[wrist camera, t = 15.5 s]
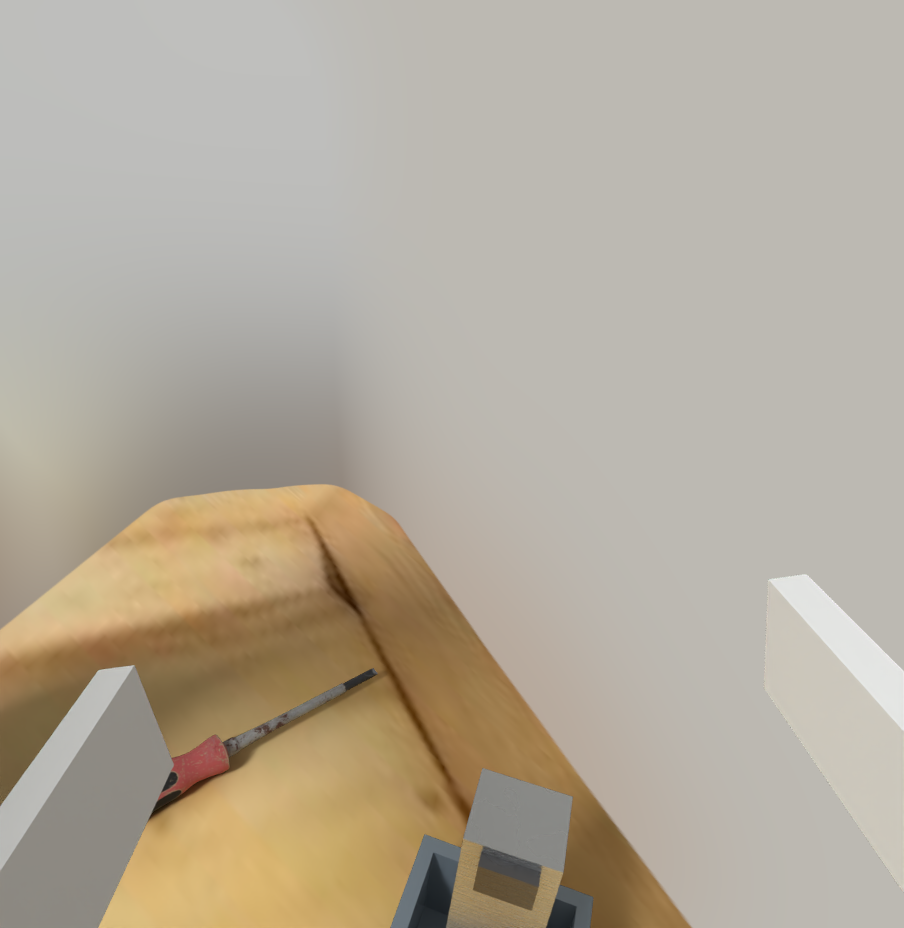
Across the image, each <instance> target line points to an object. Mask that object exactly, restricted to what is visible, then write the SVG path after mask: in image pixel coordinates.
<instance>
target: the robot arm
mask: <svg viewBox="0 0 904 928" xmlns="http://www.w3.org/2000/svg"><path fill="white" fill-rule="evenodd" d="M767 600H768V601H767V624H766V648H765V672H764V689H765V690H766V692H767V693H768V695H769V696H770V697H771V699H772V701H773V702H774V704H775V705H776V706H777V708H778V709H779V711H780V712H781V714H782V715H783V717H784V718H785V720H786V721H787V723H788V724H789V726H790V727H791V728H792V730H793V731H794V733H795V734H796V736H797V737H798V739H799V740H800V742H801V743H802V745H803V746H804V748H805V749H806V750H807V752H808V753H809V755H810V756H811V757H812V759H813V761H814V762H815V764H816V765H817V767H818V768H819V770H820V771H821V773H822V774H823V775H824V777H825V778H826V780H827V781H828V783H829V784H830V786H831V787H832V789H833V790H834V792H835V793H836V794H837V796H838V797H839V799H840V800H841V802H842V803H843V805H844V806H845V808H846V809H847V811H848V812H849V813H850V815H851V816H852V818H853V819H854V821H855V822H856V824H857V825H858V826H859V828H860V830H861V831H862V833H863V834H864V836H865V837H866V838H867V840H868V841H869V843H870V844H871V846H872V847H873V849H874V850H875V852H876V853H877V855H878V856H879V858H880V859H881V861H882V862H883V864H884V865H885V866H886V868H887V869H888V871H889V872H890V874H891V875H892V877H893V878H894V880H895V881H896V883H897V884H898V885H899V887H900V888H901V890H902V891H903V893H904V671H903V670H902V669H901V668H900V667H899V666H898V665H897V664H896V663H895V662H894V661H893V660H892V659H891V658H890V657H889V656H888V655H887V654H886V653H885V652H884V651H883V650H882V649H881V648H880V647H879V646H878V645H877V644H876V643H875V642H874V641H873V640H872V639H871V638H870V637H869V636H868V635H867V634H866V633H865V632H864V631H863V630H862V629H861V628H860V627H859V626H858V625H857V624H856V623H855V622H854V621H853V620H852V619H851V618H850V617H849V616H848V615H847V614H846V613H845V612H844V611H843V610H842V609H841V608H840V607H839V606H838V605H837V604H836V603H835V602H834V601H833V600H832V599H831V598H830V597H829V596H828V595H827V594H826V593H825V592H823V590H822V589H821V588H820V587H819V586H818V585H817V584H816V583H815V582H814V581H813V580H811V578H810V577H808V575H806V574H805V575H798V576H790V577H783V578H776V579H768V599H767ZM173 766H174V764H173V761H172V759H171V756H170V754H169V751H168V748H167V746H166V743H165V741H164V738H163V736H162V733H161V731H160V728H159V726H158V723H157V721H156V718H155V716H154V713H153V711H152V708H151V706H150V703H149V701H148V698H147V696H146V693H145V691H144V688H143V685H142V683H141V680H140V678H139V675H138V673H137V670H136V668H135V665H132V666H125V667H117V668H110V669H102V670H98V671H97V673H96V674H95V676H94V677H93V678H92V680H91V681H90V683H89V684H88V685H87V687H86V688H85V689H84V691H83V692H82V694H81V695H80V696H79V698H78V699H77V701H76V702H75V703H74V705H73V706H72V707H71V709H70V710H69V712H68V713H67V714H66V716H65V717H64V719H63V720H62V721H61V723H60V724H59V726H58V727H57V728H56V730H55V731H54V732H53V734H52V735H51V737H50V738H49V739H48V741H47V742H46V744H45V745H44V746H43V748H42V749H41V750H40V752H39V753H38V755H37V756H36V757H35V759H34V760H33V762H32V763H31V764H30V766H29V767H28V768H27V770H26V771H25V773H24V774H23V775H22V777H21V778H20V780H19V781H18V782H17V784H16V785H15V786H14V788H13V789H12V791H11V792H10V793H9V795H8V796H7V798H6V799H5V800H4V802H3V803H2V804H1V806H0V928H98V927H99V925H100V922H101V920H102V918H103V916H104V914H105V912H106V910H107V907H108V905H109V903H110V901H111V899H112V897H113V895H114V892H115V890H116V888H117V886H118V884H119V882H120V880H121V877H122V875H123V873H124V871H125V869H126V867H127V864H128V862H129V860H130V858H131V856H132V854H133V852H134V849H135V847H136V845H137V843H138V841H139V839H140V837H141V834H142V832H143V830H144V828H145V826H146V824H147V822H148V819H149V817H150V815H151V813H152V811H153V809H154V806H155V804H156V802H157V800H158V798H159V796H160V794H161V791H162V789H163V787H164V785H165V783H166V781H167V779H168V776H169V774H170V772H171V770H172V768H173Z"/></svg>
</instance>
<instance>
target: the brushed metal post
mask: <svg viewBox="0 0 904 928" xmlns="http://www.w3.org/2000/svg"><path fill="white" fill-rule="evenodd" d="M572 799H573V797H572V796H569V795H566V794H563V793H559V792H556V791H553V790H550V789H547V788H544V787H541V786H537V785H534V784H531V783H528V782H525V781H522V780H518V779H515V778H512V777H509V776H506V775H503V774H499V773H496V772H493V771H490V770H487V769H484V768H482V772H481V776H480V779H479V783H478V787H477V790H476V794H475V798H474V801H473V805H472V808H471V812H470V816H469V819H468V823H467V827H466V830H465V834H464V838H463V842H462V848H461V853H460V858H459V863H458V868H457V873H456V879H455V884H454V889H453V894H452V899H451V904H450V910H449V915H448V920H447V925H446V928H546V926H547V923H548V920H549V917H550V913H551V910H552V907H553V904H554V901H555V898H556V895H557V891H558V888H559V885H560V882H561V879H562V876H563V872H564V864H565V856H566V848H567V840H568V831H569V823H570V815H571V807H572Z"/></svg>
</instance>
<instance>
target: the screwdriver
mask: <svg viewBox="0 0 904 928" xmlns="http://www.w3.org/2000/svg"><path fill="white" fill-rule="evenodd" d="M377 674H378V673H377V672H376V671H375V670H374V668H373V669H370V670H368V671H366V672H364V673H362V674H361V675H359V676H357V677H355V678H353V679H351V680H349V681H347V682H345V683H343V684H340V685H338V686H336V687H334V688H332V689H330V690H328V691H326V692H324V693H322V694H320V695H319V696H317V697H315V698H313V699H311V700H309V701H307V702H305V703H303V704H301V705H299V706H297V707H295V708H293V709H292V710H290V711H288V712H286V713H284V714H282V715H280V716H278V717H276V718H274V719H272V720H270V721H268V722H266V723H264V724H262V725H260V726H258V727H256V728H254V729H252V730H249V731H247V732H245V733H243V734H241V735H239V736H237V737H235V738H230V739H228V740H226V741H224V742H222V741H221V740H220V738H219V737H218V736H217V735H213V736H212V737H210V738H208V739H207V740H205V741H204V742H203V743H202V744H200V745H199V746H198V747H196V748H195V749H193V750H192V751H190V752H189V753H186V754H184V755H181V756H178V757H174V758H171V759H172V761H173V764H174V766H173V768H172V770H171V772H170V774H169V776H168V779H167V781H166V783H165V785H164V787H163V789H162V791H161V794H160V796H159V798H158V800H157V802H156V804H155V806H154V809H153V811H152V812H154V811H155V810H157V809H158V808H160V807H162V806H163V805H165V804H167V803H169V802H170V801H172V800H174V799H175V798H177V797H178V796H180V795H181V794H182V793H184V792H185V791H186V790H187V789H188V788H190V787H191V786H192V785H194V784H195V783H197V782H198V781H200V780H203V779H205V778H207V777H210V776H214V775H217V774H220V773H223V772H225V771H226V770H228V769H229V767H230V765H229V757H231V756H233V755H234V754H236V753H238V752H239V750H241V749H243V748H244V747H246V746H248V745H249V744H251V743H253V742H255V741H256V740H258V739H260V738H262V737H263V736H265V735H267V734H269V733H270V732H272V731H274V730H276V729H277V728H279V727H281V726H283V725H285V724H287V723H289V722H291V721H292V720H294V719H296V718H298V717H300V716H302V715H304V714H306V713H307V712H309V711H311V710H313V709H315V708H317V707H319V706H321V705H322V704H324V703H326V702H328V701H330V700H332V699H334V698H336V697H337V696H339V695H341V694H343V693H345V692H346V691H347V690H349V689H351V688H353V687H355V686H356V685H358V684H360V683H362V682H364V681H366V680H368V679H370V678H372V677H373V676H375V675H377Z"/></svg>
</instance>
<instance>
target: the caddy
mask: <svg viewBox="0 0 904 928" xmlns="http://www.w3.org/2000/svg"><path fill="white" fill-rule="evenodd" d="M460 853H461V848H460V847H457V846H455V845H452V844H449V843H447V842H444V841H441V840H439V839H436V838H433V837H431V836H428V835H424V837H423V840H422V843H421V846H420V848H419V851H418V854H417V857H416V859H415V862H414V865H413V867H412V870H411V873H410V876H409V878H408V881H407V884H406V887H405V889H404V892H403V895H402V897H401V900H400V903H399V906H398V908H397V911H396V914H395V917H394V919H393V922H392V925H391V927H390V928H446V925H447V920H448V915H449V910H450V904H451V899H452V894H453V889H454V884H455V879H456V873H457V868H458V863H459V858H460ZM592 905H593V897H592V896H589V895H586V894H583V893H581V892H578V891H575V890H573V889H570V888H567V887H565V886H562V885H559V888H558V891H557V895H556V898H555V901H554V904H553V907H552V910H551V913H550V917H549V920H548V923H547V926H546V928H590V924H591V915H592Z"/></svg>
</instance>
